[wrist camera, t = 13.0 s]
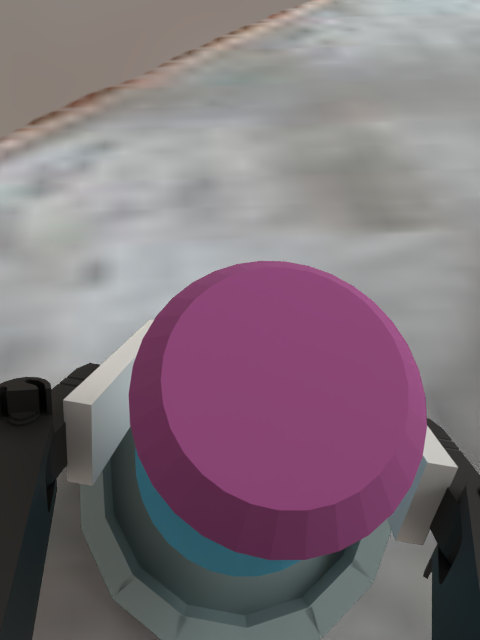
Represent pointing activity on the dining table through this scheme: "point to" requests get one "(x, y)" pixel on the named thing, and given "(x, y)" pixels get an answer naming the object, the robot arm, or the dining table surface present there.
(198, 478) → the perfume bottle
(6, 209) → the dining table surface
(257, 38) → the dining table surface
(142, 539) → the round dish
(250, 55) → the dining table surface
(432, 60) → the dining table surface
